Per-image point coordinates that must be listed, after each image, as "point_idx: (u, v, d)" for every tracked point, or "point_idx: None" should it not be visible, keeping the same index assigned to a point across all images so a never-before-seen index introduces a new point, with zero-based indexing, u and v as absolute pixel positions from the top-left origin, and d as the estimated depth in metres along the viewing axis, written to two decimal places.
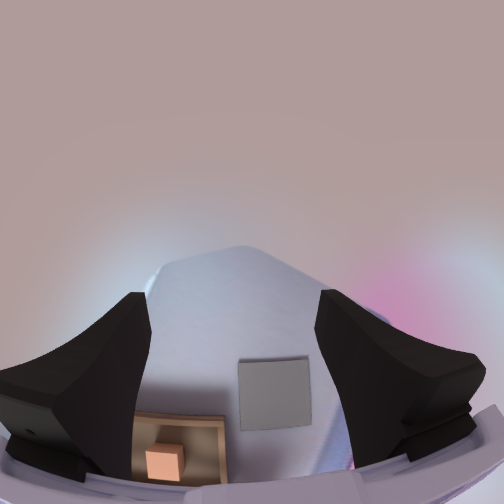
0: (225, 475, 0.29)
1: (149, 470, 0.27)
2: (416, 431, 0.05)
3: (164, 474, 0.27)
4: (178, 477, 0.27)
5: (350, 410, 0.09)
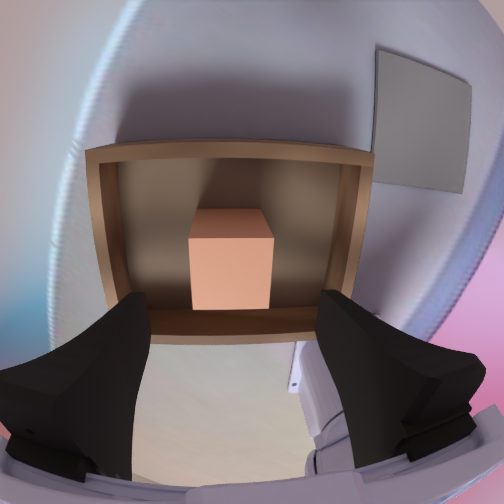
0: (352, 281, 0.18)
1: (196, 291, 0.15)
2: (416, 430, 0.05)
3: (234, 296, 0.15)
4: (267, 299, 0.15)
5: (350, 410, 0.09)
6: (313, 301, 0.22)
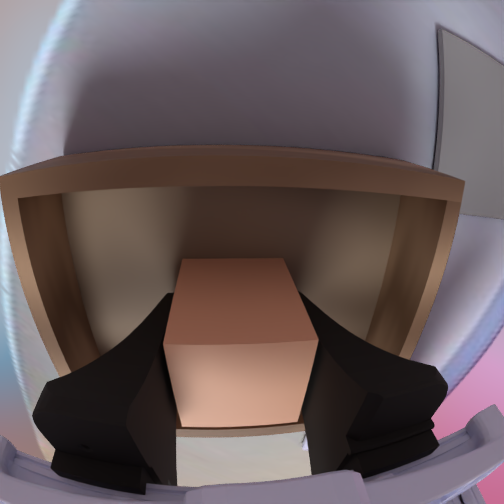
0: (407, 358, 0.11)
1: (185, 408, 0.08)
2: (363, 447, 0.05)
3: (245, 413, 0.08)
4: (296, 412, 0.09)
5: (307, 417, 0.08)
6: None
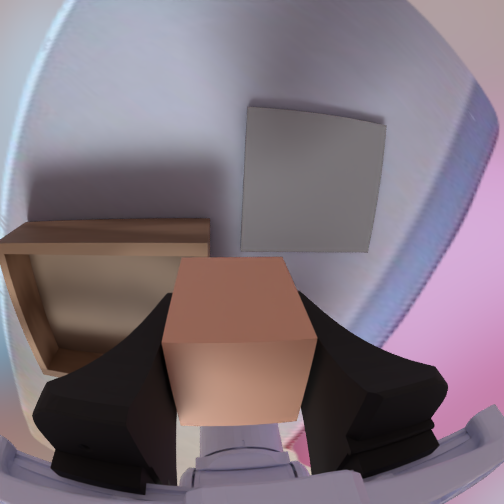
0: None
1: (183, 407, 0.08)
2: (363, 447, 0.05)
3: (244, 412, 0.08)
4: (295, 411, 0.09)
5: (307, 417, 0.08)
6: None
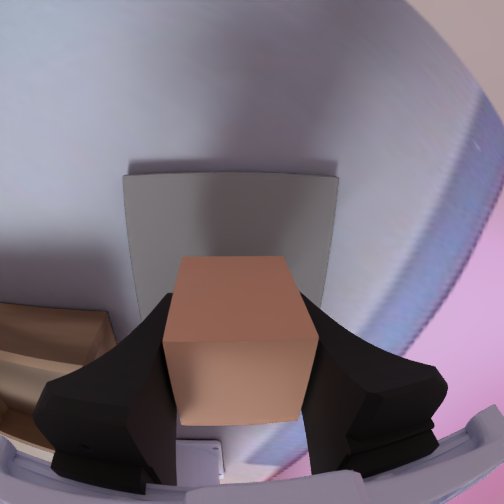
0: None
1: (184, 407, 0.08)
2: (363, 447, 0.05)
3: (245, 412, 0.08)
4: (296, 410, 0.09)
5: (307, 417, 0.08)
6: None
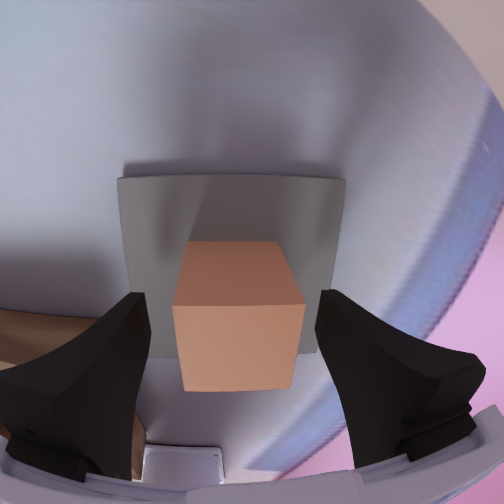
0: None
1: (188, 371, 0.10)
2: (416, 430, 0.05)
3: (242, 377, 0.10)
4: (288, 378, 0.10)
5: (350, 410, 0.09)
6: None
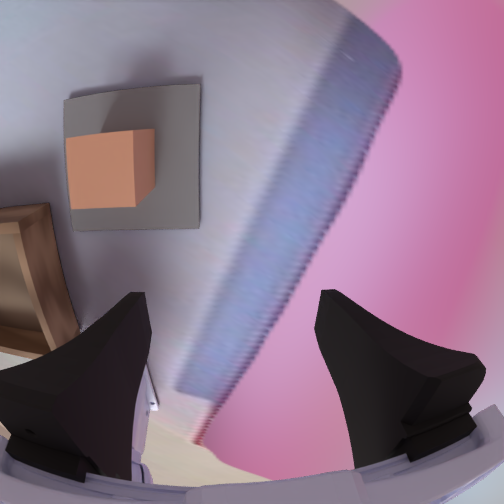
0: (44, 321, 0.18)
1: (72, 189, 0.14)
2: (416, 430, 0.05)
3: (103, 192, 0.14)
4: (133, 196, 0.14)
5: (350, 410, 0.09)
6: None
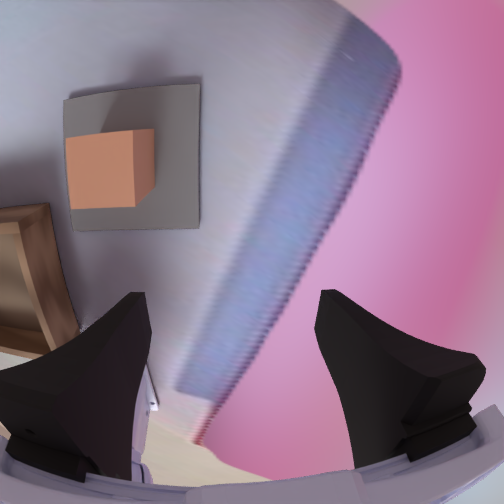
0: (44, 321, 0.18)
1: (72, 189, 0.14)
2: (416, 431, 0.05)
3: (102, 192, 0.14)
4: (133, 196, 0.14)
5: (350, 410, 0.09)
6: None
